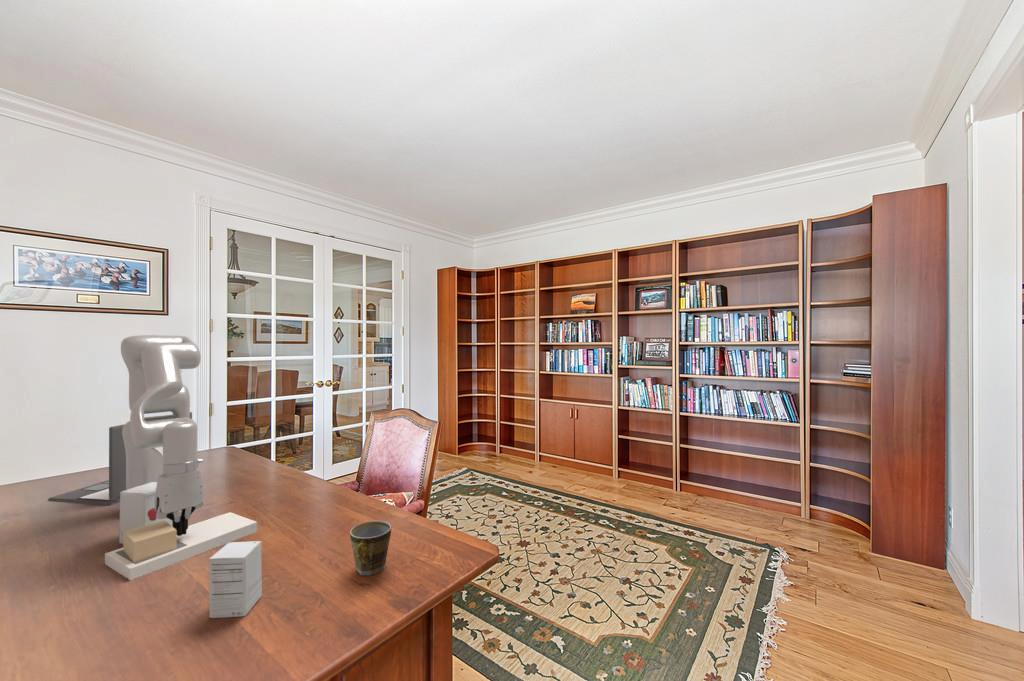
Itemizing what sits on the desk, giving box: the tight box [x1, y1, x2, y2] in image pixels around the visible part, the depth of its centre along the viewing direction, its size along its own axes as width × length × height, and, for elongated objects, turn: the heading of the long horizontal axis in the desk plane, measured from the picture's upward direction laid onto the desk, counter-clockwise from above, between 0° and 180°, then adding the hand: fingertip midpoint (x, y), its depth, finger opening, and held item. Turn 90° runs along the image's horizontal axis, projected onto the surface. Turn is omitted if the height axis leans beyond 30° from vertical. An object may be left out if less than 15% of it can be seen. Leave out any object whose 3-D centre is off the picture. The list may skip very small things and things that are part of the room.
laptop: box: [47, 411, 193, 506], centre depth 164 cm, size 32×26×28 cm
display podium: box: [104, 511, 258, 581], centre depth 118 cm, size 15×30×3 cm, turn 151°
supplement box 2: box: [208, 540, 263, 619], centre depth 91 cm, size 7×7×13 cm
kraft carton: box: [122, 520, 177, 563], centre depth 110 cm, size 10×8×5 cm
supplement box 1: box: [119, 482, 173, 545], centre depth 123 cm, size 9×9×15 cm
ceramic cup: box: [349, 520, 392, 576], centre depth 106 cm, size 13×10×10 cm
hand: (180, 533), depth 116 cm, fingers closed
